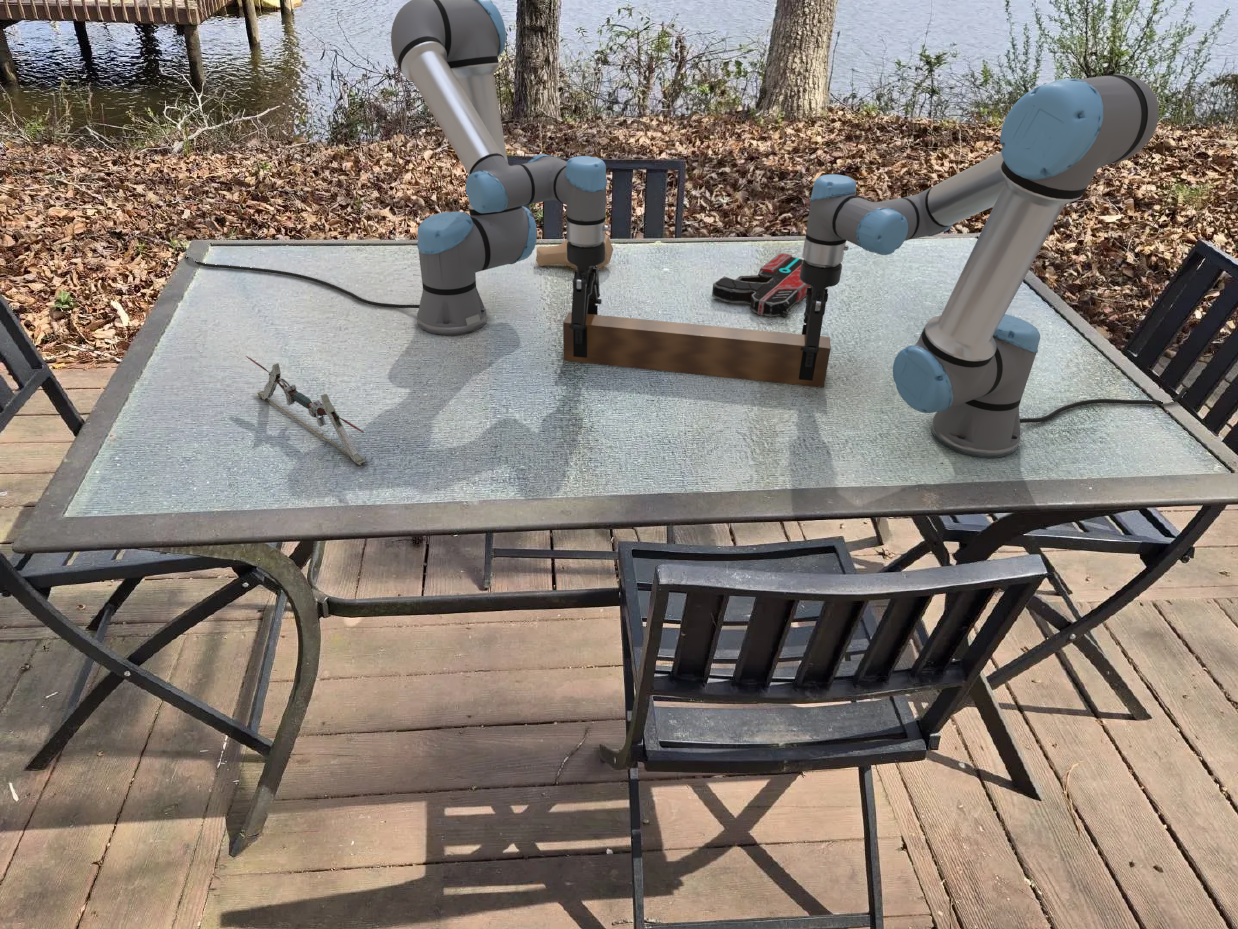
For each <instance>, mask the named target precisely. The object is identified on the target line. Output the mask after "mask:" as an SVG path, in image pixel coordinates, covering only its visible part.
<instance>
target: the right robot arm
mask: <svg viewBox="0 0 1238 929" xmlns="http://www.w3.org/2000/svg"><path fill="white" fill-rule="evenodd" d="M1159 118H1160V107H1159V101H1158V98H1157V96H1156V94H1155V92H1154V90H1153V89H1152V88H1151V86H1150V85H1149V84H1147V83H1146V82H1144V81H1143V80H1142V79H1140V78H1138V77H1137V76H1133V75H1130V74H1122V73H1121V74H1120V73H1117V74H1107V75H1102V76H1093V77H1085V78H1061V79H1058V80H1054V81H1050V82H1048V83H1046V84H1042V85H1039V86H1036V87H1034V88H1032V89H1030V90H1029V91H1028V92H1026V93H1024V94H1023V95H1022V96H1021V97H1020V98H1019V99H1018V100H1017V101H1016V102H1015V103H1014V104H1013V105H1012V107H1011V108H1010V110H1009V111H1008V113H1007V114H1006V116H1005V119H1004V121H1003V123H1002V127H1001V129H1000V130H1001V131H1000V136H999V139H1000V140H999V143H1000V144H1001V146H1002V149H1000V152H997V153H996V154H994V155H992V156H989V157H988V158H986V159H984V160H982V161H980V162H978V163H976V164H974V165H972V166H970V167H968V168H966V169H964V170H962V171H960V172H958V173H956V174H955V175H952V176H951V177H948V178H946V179H945V180H943V181H941V182H939V183H937V184H934V186H931V187H928V188H927V189H925V190H923V191H921V192H919V193H917V194H913V195H908V196H903V197H898V198H893V199H887V200H886V199H885V200H881V201H876V202H875V201H871V200H866V199H865V198H863V197H860V196H858V195H856V194H857V182H856V181H855V179H854V178H852V177H850V176H847V175H842V174H833V173H831V174H830V173H829V174H822V175H820V176H818V177H817V178H815V180H814V183H813V187H812V191H811V195H810V198H809V201H810V202H809V210H808V216H807V217H808V218H807V224H806V232H805V236H804V243H803V249H802V259H803V261H802V264H801V271H800V279H801V281H802V282H804V283H805V284H808V285H810V286H809V287H807V291H806V295H807V296H805V298H806V299H805V308H804V312H803V317H804V318H803V324H802V330H801V334H802V335H806V339H805V346H804V347H800V350H802V351H803V353H802V359H801V366H800V372H799V379H800V380H810V381H813V375H814V369H815V363H816V357H817V353H818V351H819V342H820V336H822V335H821V334H822V327H823V320H824V316H825V313H826V305H827V302H828V300H829V293H828V292H829V289H828V288H831V287H835V286H837V285H838V284H839V283H840V281H841V275H842V270H843V264H842V262H844V257H845V252H847V251H849V245H847V242H849V243H851V244H853V245H855V246H858V247H860V248H861V249H863V250H865V251H867V252H869V253H872V254H873V253H875V254H877V255H881V256H888V255H892V254H894V253H895V251H896V250H897V249H898V250H899V249H900V248H901V247H902V245H903V244H904V242H907V241H910V240H915V239H920V238H924V237H934V236H937V235H940V234H942V233H945V232H947V231H949V230H950V229H951V228H952V227H953V226H954V224H957V223H959V222H962V221H964V220H965V219H968V218H970V217H972V216H973V217H974V216H975V215H977V214H980V213H982V212H984V211H986V210H989V209H991V211H990V213H989V215H988V217H987V219H986V221H985V223H984V225H983V228H982V229H981V232H980V234H979V235H978V238H977V240H976V242H975V243H974V246H973V248H972V250H971V252H970V254H969V256H968V259H967V261H966V263H965V264H964V266H963V268H962V271H961V273H960V275H959V277H958V279H957V281H956V283H955V286H954V287H953V290H952V292H951V293H950V295H949V297H948V300H947V302H946V304H945V305H944V308H943V310H942V312H941V314H940V315H937V316H936V315H935V316H933V317H931V318H929V319H928V320H927V322H926V323H925V325H924V327H923V329H922V331H921V334H920V335H919V337H918V339H917V342H916V343H915V344H910V345H908V346H905V348H903V349H902V350H899V352H898V353H897V355H896V356H895V358H894V360H893V364H892V377H893V382H894V384H895V387H896V390H897V392H898V394H899V396H900V398H901V399H902V400H903V401H904V402H905V403H906V404H907V405H908V406H909V407H910V408H911V409H913V410H915V411H917V412H918V413H921V414H922V413H923V414H933V413H935V414H934V416H933V417H932V418H933V419H932V422H931V425H930V430H931V434H932V435H933V436H934V438H935V439H936V440H937V441H938V442H939V443H941V444H942V445H943V446H945V447H947V448H949V450H950V449H951V450H953V451H955V452H957V453H961V454H963V455H967V456H971V457H976V458H986V459H992V458H993V459H995V458H1003V457H1006V456H1009V455H1011V454H1013V453H1014V452H1015V451H1016V450H1017V449H1018V446H1019V444H1020V440H1021V424H1026V423H1027V424H1028V423H1029V424H1031V423H1034V424H1035V423H1042V422H1046V421H1048V420H1051V419H1052V418H1053V417H1056V416H1057V415H1059V414H1061V413H1063V412H1065V411H1068V410H1071V409H1074V408H1076V407H1082V406H1087V405H1093V404H1117V405H1118V404H1119V405H1164V404H1163V402H1161V401H1159V400H1160V399H1157V400H1156V399H1155V400H1156V401H1149V400H1150V399H1119V398H1095V399H1086V400H1085V399H1084V400H1081V401H1076V402H1072V403H1069V404H1066V405H1063V406H1061V407H1059V408H1057V409H1055V410H1054V411H1052V412H1051V413H1049V414H1046V415H1044V416H1041V417H1026V418H1025V417H1024V418H1020V404H1021V402H1022V398H1023V395H1024V392H1025V390H1026V386H1027V383H1028V381H1029V377H1030V374H1031V372H1032V368H1033V366H1034V362H1035V359H1036V356H1037V354H1038V352H1039V344H1040V340H1041V333H1040V331H1039V329H1038V328H1037V327H1036V326H1035V325H1034V324H1032V323H1031V322H1028V321H1027V320H1025V319H1022V318H1019V317H1017V316H1014V315H1011V314H1007V311H1008V310H1009V307H1010V306H1011V303H1012V302H1013V300H1014V299H1015V296H1016V294H1018V291H1019V290H1020V288H1021V285H1023V284H1022V283H1023V282H1024V280H1025V278H1026V276H1027V274H1028V272H1029V271H1030V269H1031V267H1032V265H1033V264H1034V262H1035V260H1036V258H1037V256H1038V254H1039V253H1040V251H1041V249H1042V247H1043V245H1044V243H1045V242H1046V240H1047V238H1048V236H1049V234H1050V232H1051V231H1052V229H1053V228H1054V225H1055V224H1056V222H1057V220H1058V218H1059V216H1060V214H1061V212H1062V210H1063V209H1064V207H1065V205H1067V204H1070V203H1072V202H1075V201H1078V200H1079V199H1081V198H1082V197H1083V196H1084V195H1085V193H1086V191H1087V190H1088V187H1089V185H1090V183H1091V182H1092V180H1093V179H1094V177H1095V175H1096V173H1097V171H1098V169H1100V168H1102V167H1106V166H1110V165H1113V164H1117V163H1120V162H1123V161H1125V160H1127V159H1129V158H1131V157H1133V156H1135V155H1136V154H1138V152H1140V151H1141V150H1142V149H1143V148H1144V147H1145V146H1146V145H1147V144H1148V143H1149V142H1150V140H1151V139H1152V137H1153V135H1154V133H1155V131H1156V129H1157V127H1158V123H1159ZM1186 393H1190V389H1189V387H1188V386H1184V387H1183V388H1181V390H1180V392H1179V393H1178V394H1176V396H1175V397H1173V398H1171V399H1172V400H1173V401H1174V403H1176V402H1179V401H1180V400H1181V399H1182V398H1183V397H1184V395H1185V394H1186Z"/></svg>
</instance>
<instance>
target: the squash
mask: <svg viewBox="0 0 1238 929" xmlns="http://www.w3.org/2000/svg"><path fill="white" fill-rule="evenodd" d="M567 242H568V240H567V238H566V239H565V241H564V242H562V243H560V244H558V245H550V246H537V247H536V258H535V261H536V264H537V265H538V266H539V267H545V266H551V265H552V266H553V265H562V266H567V267H570V268H572V269H575V270H577V266H576V265H574V264H571V263H570V262H569V261H568V260H567ZM604 243H605V260H604V262H603V263H601V264H599V265H598V270H599V269H601V268H603V267H605V266H608V265H609V264H610V262H611V261H612V260H611V259H612V256H613V252H614V247H613V244H612V242H611V240H610V236H609V235H607V234H605V240H604Z"/></svg>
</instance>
